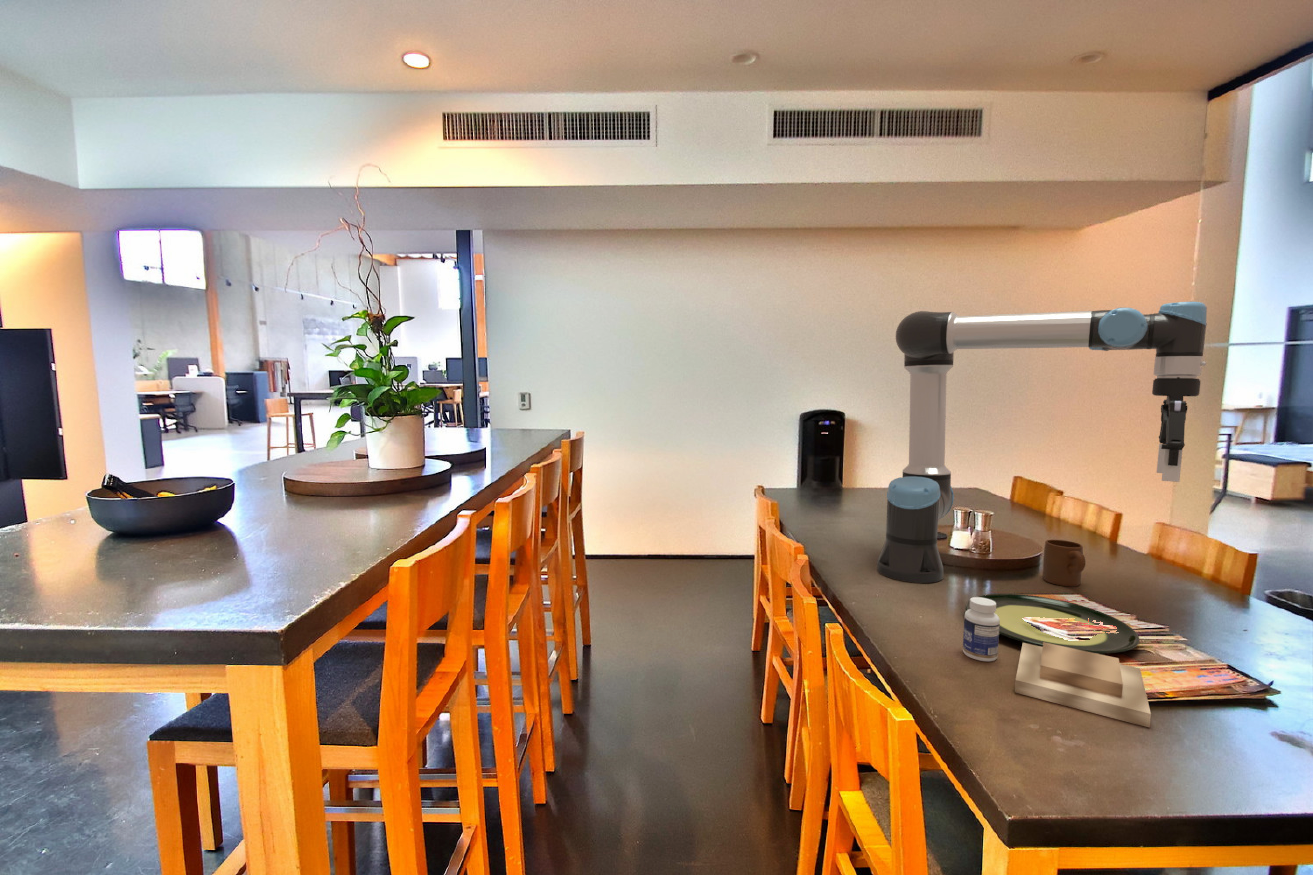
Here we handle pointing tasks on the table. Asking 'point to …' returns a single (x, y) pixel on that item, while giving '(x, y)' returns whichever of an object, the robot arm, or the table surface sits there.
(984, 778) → the table surface
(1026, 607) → the plate
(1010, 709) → the table surface
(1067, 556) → the mug
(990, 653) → the pill bottle
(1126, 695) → the base
